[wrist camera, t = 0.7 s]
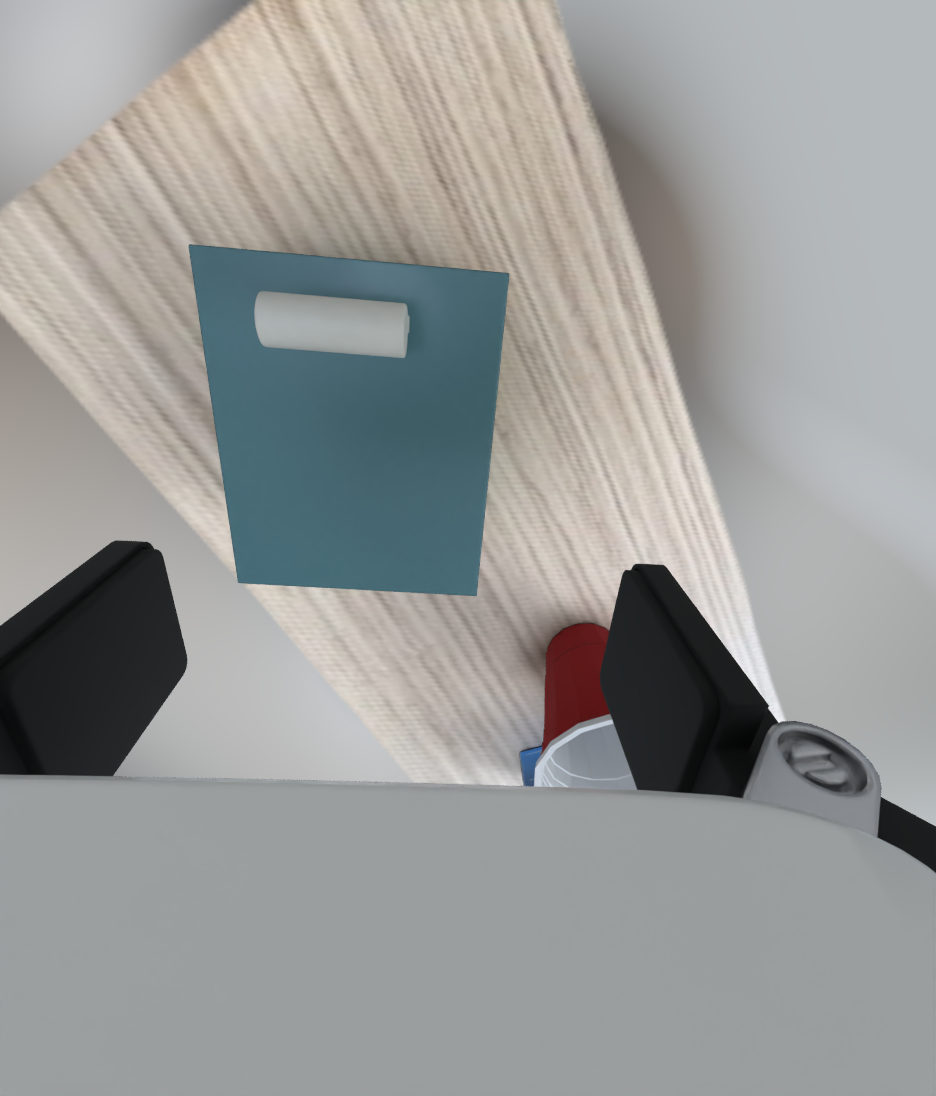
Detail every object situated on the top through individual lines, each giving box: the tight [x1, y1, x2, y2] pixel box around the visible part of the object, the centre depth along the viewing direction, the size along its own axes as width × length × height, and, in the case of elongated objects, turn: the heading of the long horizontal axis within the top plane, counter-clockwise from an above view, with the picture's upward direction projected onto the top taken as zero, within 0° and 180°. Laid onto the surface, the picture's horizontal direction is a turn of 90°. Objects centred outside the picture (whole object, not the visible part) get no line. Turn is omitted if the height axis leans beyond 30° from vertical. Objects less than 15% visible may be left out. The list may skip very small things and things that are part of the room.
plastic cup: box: [534, 623, 637, 790], centre depth 36 cm, size 11×11×12 cm
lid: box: [189, 244, 509, 596], centre depth 22 cm, size 15×13×5 cm
